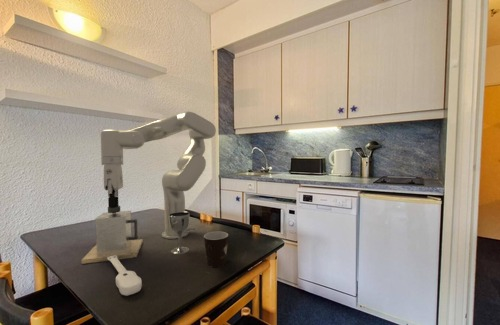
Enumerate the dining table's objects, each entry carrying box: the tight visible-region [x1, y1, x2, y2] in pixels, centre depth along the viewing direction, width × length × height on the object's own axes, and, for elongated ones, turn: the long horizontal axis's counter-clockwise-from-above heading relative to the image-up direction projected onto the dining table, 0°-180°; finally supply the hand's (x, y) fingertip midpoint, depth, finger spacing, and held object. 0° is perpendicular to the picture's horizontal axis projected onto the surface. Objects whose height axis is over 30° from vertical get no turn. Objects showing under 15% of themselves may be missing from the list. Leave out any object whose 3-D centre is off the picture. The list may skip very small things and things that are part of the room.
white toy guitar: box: [107, 255, 143, 297], centre depth 74 cm, size 28×6×3 cm, turn 42°
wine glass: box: [169, 211, 191, 255], centre depth 95 cm, size 8×8×15 cm
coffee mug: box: [203, 230, 229, 268], centre depth 82 cm, size 12×9×10 cm
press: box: [81, 210, 144, 265], centre depth 94 cm, size 18×16×15 cm
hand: (113, 206), depth 94 cm, fingers closed
